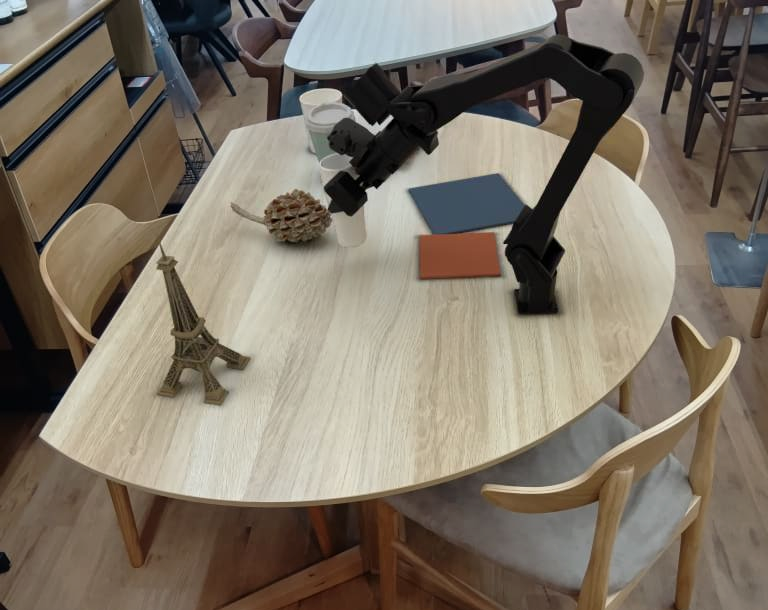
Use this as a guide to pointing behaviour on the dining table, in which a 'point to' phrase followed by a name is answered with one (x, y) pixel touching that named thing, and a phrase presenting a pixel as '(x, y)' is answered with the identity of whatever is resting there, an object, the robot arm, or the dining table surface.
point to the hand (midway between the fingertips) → (339, 201)
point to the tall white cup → (346, 227)
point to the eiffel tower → (192, 340)
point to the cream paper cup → (317, 103)
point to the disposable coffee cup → (325, 125)
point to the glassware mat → (467, 204)
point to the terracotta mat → (458, 255)
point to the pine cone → (292, 216)
